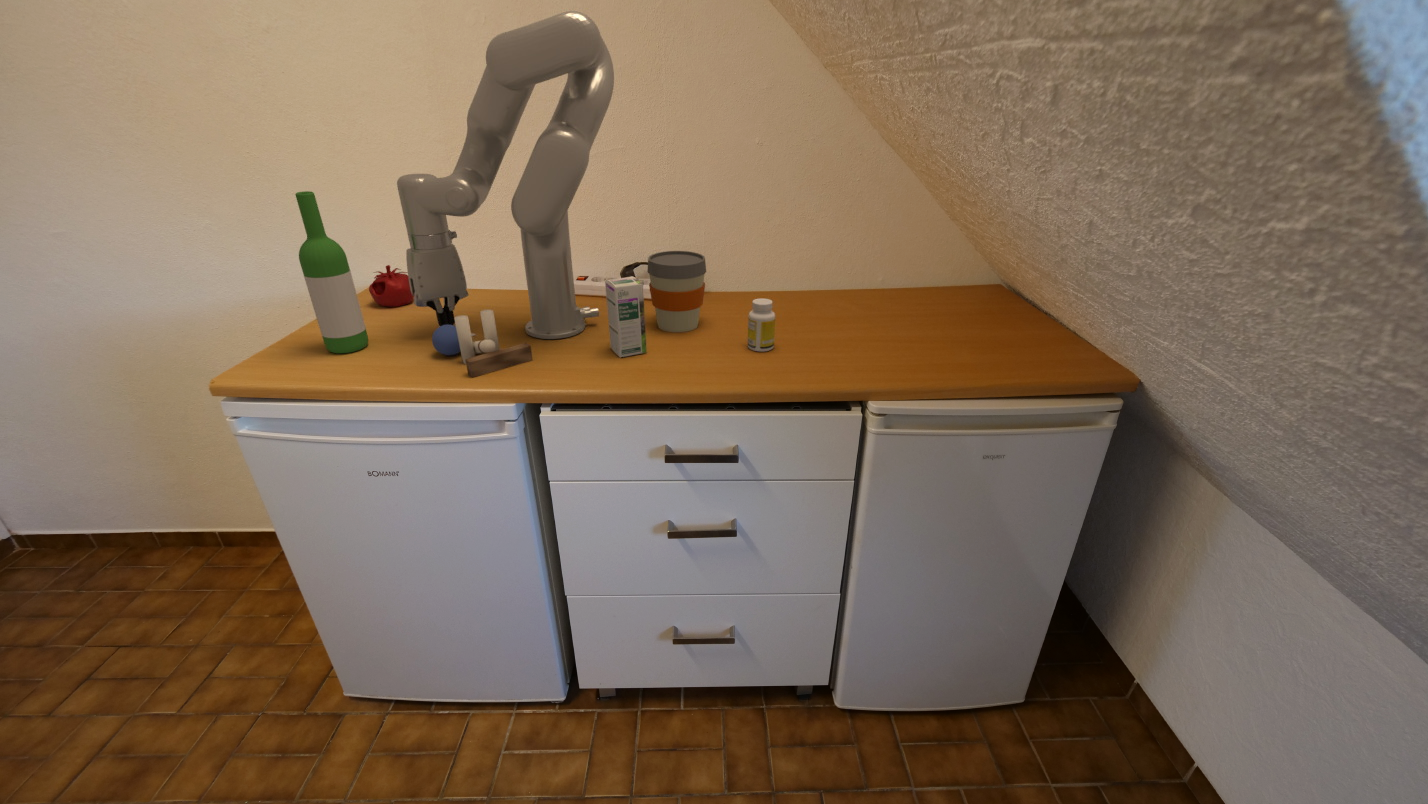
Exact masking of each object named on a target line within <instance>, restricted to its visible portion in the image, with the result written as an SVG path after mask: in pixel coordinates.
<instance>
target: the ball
mask: <svg viewBox="0 0 1428 804" xmlns="http://www.w3.org/2000/svg"><path fill="white" fill-rule="evenodd" d="M431 336H432V337H431V342H432V345H433V347H434V349H435V350H436V351H437V352H438V353H440V354H442V355H444V356H454V355H457V354H459V353H461V350H460V345H459V340H458V335H457V330H456V325H455V324H454V325H442V326H438V327H437V328H436V329H435V330H434V331H433V333H432V335H431Z"/></svg>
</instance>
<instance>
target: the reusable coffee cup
mask: <svg viewBox="0 0 1428 804" xmlns="http://www.w3.org/2000/svg"><path fill="white" fill-rule="evenodd" d="M647 273H648V274H649V280H650V282H649V284H648V286H649V292H650V293H649V294H650V297H651V304H652V306H653V307H654V309H655V316H656V321H657V326H658V328H659V329H660V330H661V331H664V332H665V331H666V332H670V333H683V332H684V333H686V332H690V331H693V330H695V329H697V327H698V326H699V322H700V321H699V319H700V314H701V313H700V311H701V307H703V302H704V295H705V288H706V283H705V274H706V273H707V264H706V257H705V255H703V254H701V253H698V252H694V251H688V250H687V251H686V250H668V251H660V252H656V253H653V254H651V255H649V256H648V259H647Z"/></svg>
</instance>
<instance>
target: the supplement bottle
mask: <svg viewBox="0 0 1428 804" xmlns="http://www.w3.org/2000/svg"><path fill="white" fill-rule="evenodd" d="M773 303H774V302H773V300H772V299H769V298H755V299H753V300H752V305H751V307H752V310H750V312H749V313H748V317H747V319H748V320H747V323H748V324H747V347H748V349H750V350H751V351H755V352H763V353H764V352H768V351H772V350H773V349H774V346H775V332H776V331H775V330H776V313H775V312H774V311H773Z"/></svg>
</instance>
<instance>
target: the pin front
mask: <svg viewBox="0 0 1428 804" xmlns="http://www.w3.org/2000/svg"><path fill="white" fill-rule="evenodd" d="M473 347H474V352H475V355H476V354H486V353H489V352H493V351H494V350H495V347H496V345H495V343H494V341H492V340H485V339H482V340H475V341H473Z"/></svg>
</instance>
